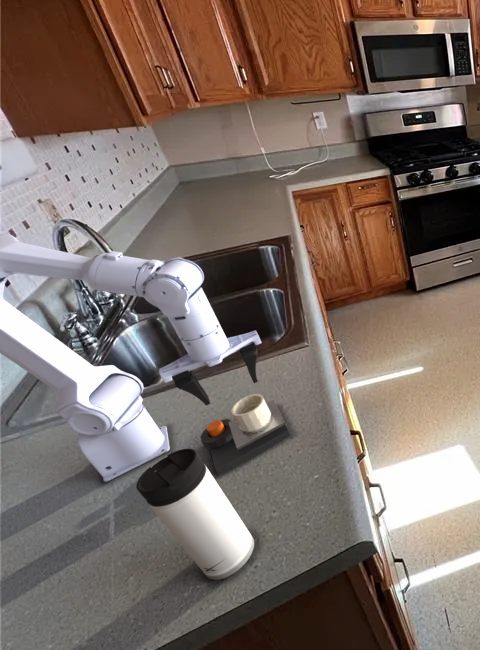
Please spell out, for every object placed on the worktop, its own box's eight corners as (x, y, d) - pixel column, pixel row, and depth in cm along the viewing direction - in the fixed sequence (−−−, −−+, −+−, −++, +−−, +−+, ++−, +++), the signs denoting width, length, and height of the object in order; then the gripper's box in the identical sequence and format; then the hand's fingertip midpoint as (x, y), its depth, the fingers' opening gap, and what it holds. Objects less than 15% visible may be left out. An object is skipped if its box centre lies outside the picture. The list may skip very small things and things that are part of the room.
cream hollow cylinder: (244, 438, 74) (234, 420, 72) (238, 422, 78) (228, 404, 75) (275, 421, 77) (266, 404, 75) (268, 406, 80) (259, 389, 78)
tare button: (211, 439, 76) (207, 432, 75) (209, 431, 77) (205, 425, 76) (226, 431, 77) (222, 425, 76) (224, 424, 79) (220, 418, 78)
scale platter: (237, 450, 73) (236, 447, 72) (229, 424, 78) (228, 422, 78) (285, 424, 77) (284, 422, 77) (274, 401, 82) (273, 399, 82)
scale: (214, 478, 71) (207, 466, 70) (205, 441, 79) (198, 430, 77) (291, 435, 78) (285, 424, 77) (276, 405, 86) (271, 394, 84)
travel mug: (220, 591, 56) (146, 500, 46) (197, 565, 59) (123, 474, 49) (264, 548, 60) (205, 457, 51) (241, 526, 63) (181, 436, 54)
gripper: (146, 362, 62) (187, 425, 69) (252, 321, 70) (279, 381, 77) (144, 341, 67) (182, 402, 74) (244, 305, 75) (270, 363, 81)
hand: (231, 390), depth 75 cm, fingers open, 7 cm apart
